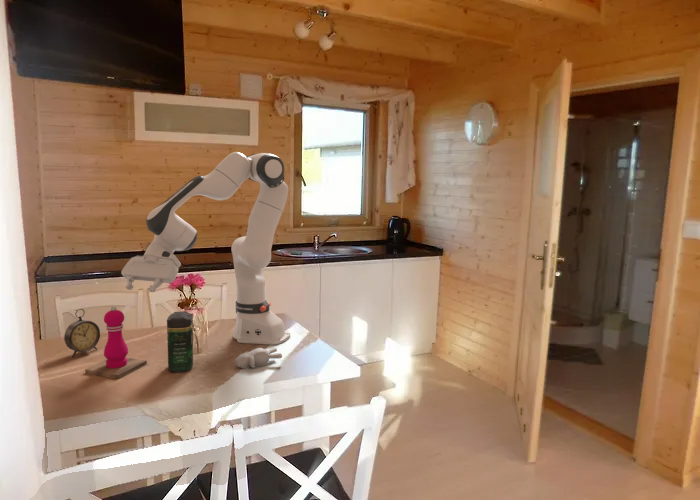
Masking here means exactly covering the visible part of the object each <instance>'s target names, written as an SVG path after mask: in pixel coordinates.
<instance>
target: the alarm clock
mask: <svg viewBox="0 0 700 500" xmlns="http://www.w3.org/2000/svg"><path fill="white" fill-rule="evenodd" d="M79 310H82V312H83V314H82V315H81V316H78V315H77V313H78V311H79ZM85 312H86V311H85V310H84V309H83V308H78V309H77V310H76V312H74V313H75V315H74V316H75V317H76V318H77V319H78V320H76V321H73V322H72V323H70V324H69V325H68V327H67V328H66V329H65V332H64V337H63V338H64V343H65V345H66V347H68V348H69V349H70V350H71V351H73V352H72V353H73V354H72V355H71V358H74V357H75V355H76V354H77V352H78V353H87V352H89V351H91V350H92V349H94V350H96V351H97V350H98V347H96V345H98V343H99V341H100V338H101V330H100V327H99V325H98V324H97V323H96V322H94V321H92V320H88V319H87V320H86V319H82V318H83V317H84V315H85Z"/></svg>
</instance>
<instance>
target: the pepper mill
mask: <svg viewBox="0 0 700 500" xmlns="http://www.w3.org/2000/svg"><path fill="white" fill-rule="evenodd" d="M103 321H104V323H105V325H106V326H105V328H106V331H107V341H106V344H105V345H104V349H103V356H104V357H105V360H106V366H107V367H108V368H120V367H123V366H125V365H126V364H127V358H128V357H127V355H128V354H129V348H128V345H127V343H126V341H125V340H124V337H123V330H124V324H123V322H124V321H125V314H124V313H123V312H122V310H119V309H118V308H117V305H112V306H111V307H110V310H108V311H107V312H105V314H104V316H103ZM126 357H127V358H126Z"/></svg>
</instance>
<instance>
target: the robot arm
mask: <svg viewBox="0 0 700 500" xmlns="http://www.w3.org/2000/svg"><path fill="white" fill-rule="evenodd" d="M247 180H250V181H252V182H256V183H259V192H258V193H259V194H258V195H257V198H256V201H255V203H254V204H253V206H252V209H251V212H250V215H249V217H248V225H247V230H246V235H245V236H241V237H238V238H236V239H235V240H234V241H233V242H232V244H231V250H230V251H231V255H232V260H233V261H232V262H233V268H234V274H235V281H236V282H235V284H236V286H235V287H236V300H235V314H236V315H235V316H236V317H235V319H236V320H235V324H234V325H235V326H234V331H233V334H232V337H233V338H234V339H235V340H236V341H237V343H239V344H240V343H241V344H254V345H255V344H256V345H274V346H276V345H279V344H282V343H284V342H286V341H287V340H289V339H290V337H291V332H290V331H287V330H285V329H286V328H285V323H284V321H283V319H281V318H280V317H279V316H278V315H276V314H275V313H274V312H272V310H270V306H272V302H269V303H268V302H267V299H266V279H265V276H264V272H263V269H264V268H266V267H267V266H268V265H269V264H270V263H271V261H272V247H273V243H274V237H275V233H276V231H277V227H278V225H279V221H280V220H281V217H282V215H283V211H284V209H285V207H286V203H287V199H288V195H289V186H288V184H287V183H286V182H285V181H284V180H285V164H284V162H283V161H282V159H281V158H280V157H279V156H277V155H275V154H272V153H267V152H260V153H252V154H250V155H247V156H246V155H245V154H243V153H241V152H238V151H234V152H231V153H229V154H228V155H227V156H225V158H223V159H222V160H221V161H220V162H219V163H218V164H217V165H216V166H215V167H214V169H213V170H212V171H211V172H209V173H208V174H206V175H196V176H195V177H193V178H192V179H190V180H189V181H187V182H186V183H185V184H184V185H183V186H181V187H180V188H179V189H177V191H176V192H174V193H173V194H172V195H170V196H169V197H168V198H167V199H166V200H165V201H163V202H162V203H161V204H158V206H156V207H154V209H153V210H151V211H150V212H149V213H148V214H147V215H146V217H145V218H146V219H145V223H146V227H147V231H149V232H150V233H152V234H154V235H153V236H154V237H153V239H152V241H151V242H150V243H149V245H148V246H147V248H146V250H145V252H144V254H143V255H136V256H132V257H130V259H129V260H128V261H127V262H126V264H125V265H124V267H123V268H122V270H121V271H120V272H121V273H120V274H121V275H122V276H123V278H125V280H126V283H127V284H126V286H125V288H126V290H129V291H132V290H133V289H134V287H135V286H134V285H133V283H134V282H135V281H144V282H153V283H154V284H152V285H150V286H149V287H148V292H149V293H155V292H156V290H157V289H158V288H160V287H161V286H162V285H163V283H164V284H171V283H173V282H174V281H175V280H176V278H177V275H178V273H179V268H180V267H181V265H182V263H181V261H180V260H179V259H178V257H177V256H176V255H175V254H174V253H175V252H183V251H189V250H191V249H192V248H193V247H194V246H195V244H196V242H197V240H198V231H197V229H196V228H195V227H194V226H192V225H191V224H189V223H188V222H187V221H186V220H184V219H183V218H181V217H180V216H179V215H178V214H176V211H177V209H179V208H180V207H181V206H182V205H184V204H185V203H186V202H187V201H188V200H189V199H190V198H192V197H194V196H203V197H206V198H208V199H212V200H216V201H225V200H228V199H230V198H232V196H234V194H235V193H236V192H237V191H238V190H239V188H240V187H241V186H242V184H243V183H244V182H245V181H247Z"/></svg>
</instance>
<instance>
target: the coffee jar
mask: <svg viewBox="0 0 700 500" xmlns="http://www.w3.org/2000/svg"><path fill="white" fill-rule="evenodd" d="M166 331H167V333H166V335H167V336H166V338H167V365H168V366H167V367H168V368H167V369H168V371H169V372H175V373H183V372H187V371H190V370H191V369H192V368H193V367H194V336H193V335H194V332H193V316H192V314H191V313H189V312H188V311H174V312H173V313H171V314H170V315H169V316H168V317H167V319H166Z"/></svg>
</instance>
